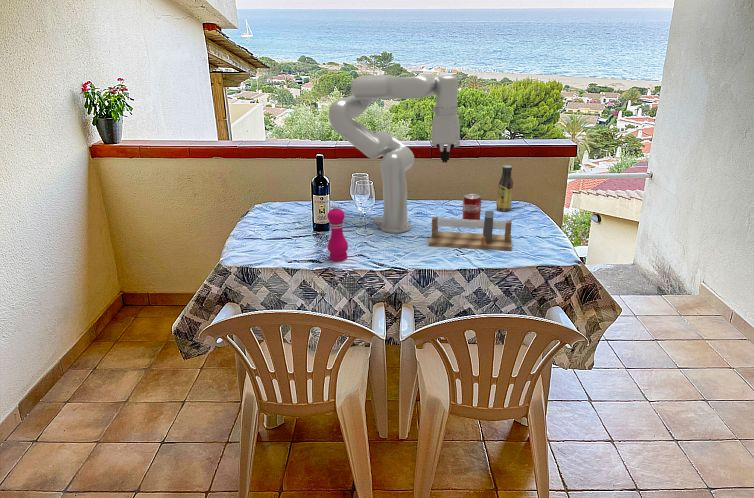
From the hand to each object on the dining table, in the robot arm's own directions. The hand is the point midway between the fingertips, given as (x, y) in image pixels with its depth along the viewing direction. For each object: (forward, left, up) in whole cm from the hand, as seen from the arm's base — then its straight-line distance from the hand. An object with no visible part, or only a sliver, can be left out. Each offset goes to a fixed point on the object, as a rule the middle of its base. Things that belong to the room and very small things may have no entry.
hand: (445, 161), depth 194 cm
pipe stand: (+11, -7, -29) cm, 32 cm away
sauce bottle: (+23, +35, -29) cm, 51 cm away
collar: (+17, -7, -26) cm, 32 cm away
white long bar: (+11, -7, -23) cm, 26 cm away
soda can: (+10, +14, -29) cm, 34 cm away
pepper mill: (-34, -30, -29) cm, 54 cm away
